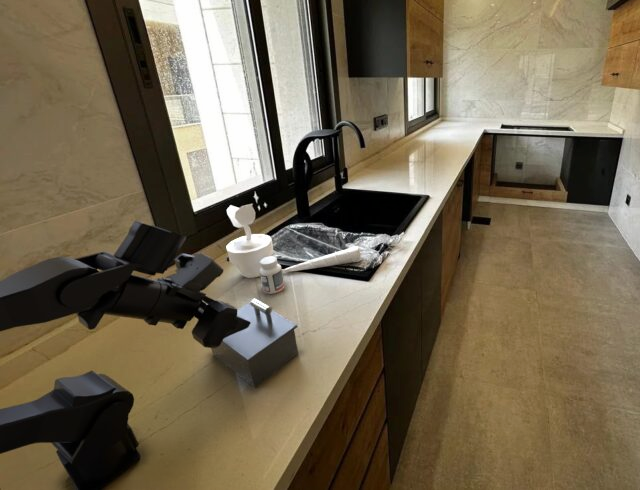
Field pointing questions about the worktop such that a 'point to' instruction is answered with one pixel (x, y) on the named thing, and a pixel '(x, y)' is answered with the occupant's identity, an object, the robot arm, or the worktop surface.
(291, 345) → the box
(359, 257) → the unicorn horn
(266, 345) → the freezer lid
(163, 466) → the worktop surface
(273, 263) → the pill bottle
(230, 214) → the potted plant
